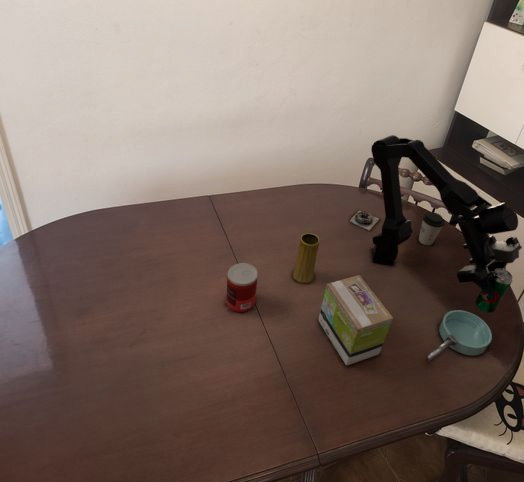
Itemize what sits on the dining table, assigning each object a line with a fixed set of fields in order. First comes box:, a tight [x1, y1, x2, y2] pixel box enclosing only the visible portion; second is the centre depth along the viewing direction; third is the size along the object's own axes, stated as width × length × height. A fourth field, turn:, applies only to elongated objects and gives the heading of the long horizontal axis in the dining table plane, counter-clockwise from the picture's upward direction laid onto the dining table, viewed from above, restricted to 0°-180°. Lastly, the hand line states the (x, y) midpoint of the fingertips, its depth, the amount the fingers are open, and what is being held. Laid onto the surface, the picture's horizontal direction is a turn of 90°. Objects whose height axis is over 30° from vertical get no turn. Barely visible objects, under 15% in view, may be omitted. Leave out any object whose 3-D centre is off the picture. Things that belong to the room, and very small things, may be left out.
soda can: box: [475, 268, 513, 313], centre depth 118 cm, size 5×5×12 cm
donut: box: [349, 210, 380, 231], centre depth 158 cm, size 8×8×2 cm
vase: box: [292, 232, 320, 284], centre depth 130 cm, size 6×6×14 cm
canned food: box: [225, 262, 259, 313], centre depth 121 cm, size 8×8×11 cm
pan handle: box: [425, 334, 458, 362], centre depth 114 cm, size 11×2×2 cm, turn 127°
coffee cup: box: [418, 212, 446, 246], centre depth 150 cm, size 7×7×10 cm
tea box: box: [318, 274, 394, 366], centre depth 114 cm, size 15×10×15 cm
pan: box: [438, 309, 493, 356], centre depth 121 cm, size 12×12×4 cm
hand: (499, 293), depth 117 cm, fingers closed on soda can, 5 cm apart
